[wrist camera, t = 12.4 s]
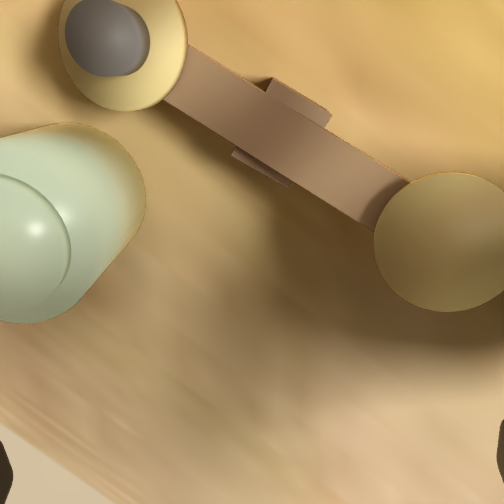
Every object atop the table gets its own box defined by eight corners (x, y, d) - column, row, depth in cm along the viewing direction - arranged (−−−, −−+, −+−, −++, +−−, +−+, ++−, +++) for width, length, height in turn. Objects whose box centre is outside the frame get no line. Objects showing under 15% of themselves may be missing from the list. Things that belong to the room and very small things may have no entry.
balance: (488, 183, 19) (564, 227, 14) (419, 270, 21) (465, 338, 16) (108, -51, 17) (33, -102, 12) (63, 68, 18) (-20, 69, 13)
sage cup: (131, 115, 19) (61, 139, 13) (156, 252, 21) (107, 327, 15) (-8, 129, 20) (-138, 158, 13) (31, 261, 22) (-66, 337, 16)
